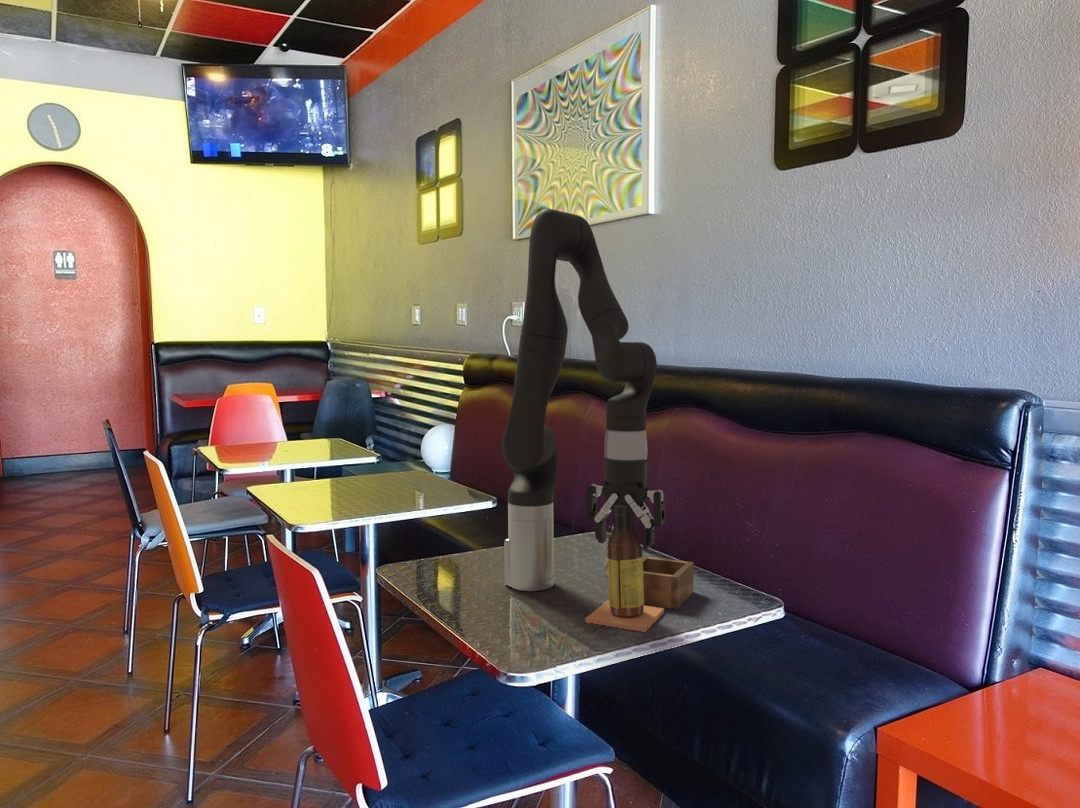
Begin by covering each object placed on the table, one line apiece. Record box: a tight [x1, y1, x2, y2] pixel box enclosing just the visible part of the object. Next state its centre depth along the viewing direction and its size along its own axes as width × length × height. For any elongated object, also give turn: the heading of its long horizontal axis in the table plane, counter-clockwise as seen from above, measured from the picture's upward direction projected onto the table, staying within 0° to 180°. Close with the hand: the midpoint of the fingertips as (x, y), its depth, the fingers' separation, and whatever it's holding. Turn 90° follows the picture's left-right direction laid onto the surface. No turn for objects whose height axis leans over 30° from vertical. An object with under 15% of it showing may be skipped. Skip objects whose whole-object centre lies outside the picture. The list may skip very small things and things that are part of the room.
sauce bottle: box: [607, 505, 645, 617], centre depth 140 cm, size 7×6×20 cm
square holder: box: [642, 555, 695, 610], centre depth 152 cm, size 10×11×6 cm
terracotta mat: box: [584, 599, 665, 633], centre depth 141 cm, size 11×11×1 cm
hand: (624, 545), depth 140 cm, fingers open, 8 cm apart
